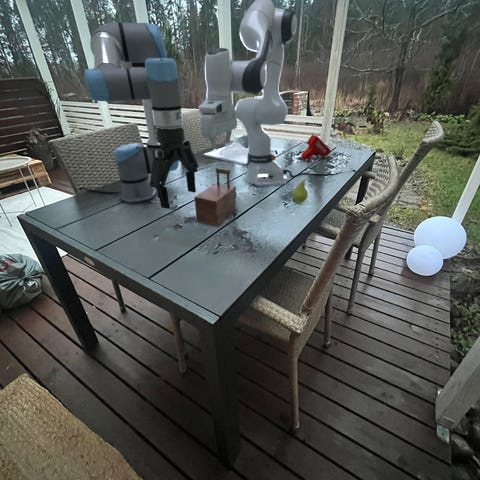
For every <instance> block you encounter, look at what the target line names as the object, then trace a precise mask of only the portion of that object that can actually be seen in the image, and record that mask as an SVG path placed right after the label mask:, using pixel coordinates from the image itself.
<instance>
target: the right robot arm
mask: <svg viewBox="0 0 480 480" xmlns="http://www.w3.org/2000/svg"><path fill="white" fill-rule="evenodd" d="M297 27H298V16H297V13H296V11H295V10H294V9H292V8H289V7H285V8H279V7H275V4H274V2H273V1H272V0H254V1H253V2H252V4H251V5H250V6H249V7H248V9H247V11H246V12H245V14H244V16H243V18H242V19H241V22H240V25H239V37H240V41H241V42H242V44H243V46H244V47H245V48H246V49H247V50H249V51H251V52H256V54H255V58H254V59H250V60H234V59H232V58H231V53H230V49H228V48H226V47H217V48H211V49H209V50H208V51H206V53H205V58H204V59H205V60H204V77H205V84H206V93H205V94H206V99H205V100H204V101H203V102H201V104H200V105H199V106H198V112H199V113H200V116H199V122H200V132H201V133H200V134H201V135H202V137H203V138H206V139H207V138H208V140H209V142H210V144H211V149H213V150H214V149H216V150H217V149H219V144H218V142H217V136H220V135H222V134H225V137H224V139H223V140H224V144H230V143H231V136H232V134H233V130H235V129H237V127H238V121H239V122H240V123H241V124H242V126H243V127H244V129H245V132H246V134H247V135H246V136H247V141H248V143H247V144H248V147H249V152H248V155H247V163H248V164H247V171H246V175H245V177H244V179H245V180H244V181H245V182H246V183H249V184H252V185H255V186H257V187H267V186H279V185H286V184H288V182H289V181H288V180H289V179H288V177H287V176H286V175H287V174H289V177H290V178H295V177H299V176H303V175H304V176H305V175H308V176H309V175H310V176H317V177H318V176H319V177H328V176H336V175H339V174H342V172H339V171H338V172H339V173H336V172H335V173H336V174H332V173H314V174H309V173H310V172H299V173H298V174H295V175H293V173H292V171H291V170H290V169H289V170H288V169H287V168H286V167H283V166H281V165H280V164H279V163H277V162H276V161H275V160H276V158H277V157H276V156H275V154H273V152H271V145H272V139H271V135H270V134H269V133H268V132H267V131H265V130H264V128H263V126H262V125H264V126H265V125H266V126H276V125H282V124H283V123H284V122H285V121H286V119H287V116H288V106H287V104H286V103H285V101H284V100H283V98H282V96H281V94H280V79H281V76H282V75H281V74H282V71H283V70H282V69H283V65H284V57H285V47H286V46H288V44H289V43H290V42H291V41H292V40H293V38H294V37H295V35H296V32H297ZM261 92H262V97H246V98H242V99H238V101H237V103H236V105H234V103H233V93H237V94H238V93H239V94H249V95H258V94H260V93H261ZM351 171H352V172H354V173H356V172H357V171H356V169H354V170H351ZM324 174H325V175H324Z"/></svg>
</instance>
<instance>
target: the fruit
mask: <svg viewBox="0 0 480 480" xmlns="http://www.w3.org/2000/svg"><path fill="white" fill-rule="evenodd" d="M310 177H311V175H308V176H307V177H305V179H302V180H301V181H300V182H298V184H297V185H296V186H295V187H294V188H293V190H292V191H291V198H292V200H293V201H294V202H295V203H297V204H301V203H304V202H305V201H306V200H307V198H308V196H309V195H308V190H307V189H306V184H305V183H306V180H308V179H309V178H310Z"/></svg>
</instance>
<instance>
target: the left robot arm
mask: <svg viewBox="0 0 480 480" xmlns="http://www.w3.org/2000/svg"><path fill="white" fill-rule="evenodd" d="M89 46H90V50H91V54H92V55H93V60H94V61H93V62H94V63H93V65H94V67H93V68H87V69H85V70H84V73H83V74H84V80H85V85H86V87H87V91H88V94H89V96H90V99H91V100H92V101H94V102H104V103H105V102H106V103H109V102H123V101H141V102H142V106H143V111H144V117H145V123H146V128H147V134H148V139H147V140H146V142H145V143H146V146H143V145H142V144H141V143H138V142H136V143H135V142H134V143H126V144H124V145H121V146H118V147H117V148H116V149H115V150H114V159H115V161H114V162H115V163H116V166H117V171H118V174H119V179H120V184H121V186H120V190H119V191H107V190H106V191H105V190H97V189H91V188H87V187H85V186H81V187H80V188H79V189H78V191H81V190H86V191H89V192H94V193H101V194H120V200H121V201H122V202H124V203H126V204H140V203H145V202H148V201H150V200H152V199H154V198H155V196H156V194H157V198H158V199H159V204H160V208H162V209H165V210H166V209H167V210H169V209H171V205H170V199H169V193H168V187H167V186H165V184H166V183H167V179H168V177H169V173H170V172H173V171H174V172H175V171H177V170H178V168H179V164H180V163H181V165H182V166H183V168H185V170H186V171H185V179H186V187H187V192H189V193H196V192H197V188H196V187H197V186H196V173H197V172H198V169H199V164H198V161H197V159H196V157H195V155H194V152H193V149H192V148H191V141H190V140H187V139H186V137H185V128H184V127H183V125H184V121H183V113H182V111H183V110H182V102H181V94H180V84H179V83H180V82H179V72H178V67H177V62H176V60H175V59H173V58H169V57H167V51H166V47H165V42H164V38H163V36H162V32H161V29H160V28H159V26H158V25H157V24H154V23H149V22H120V21H119V22H118V21H112V22H111V21H110V22H107V23H105V24H102V25H101V26H98V28H96V29H95V31H93V32H92V34H91V37H90V42H89ZM122 63H130V64H131V68H130V67H129V68H126V67H125V68H124V67H123V65H122ZM179 162H180V163H179ZM149 174H150V179H149V178H148V175H149ZM155 189H156V191H155Z"/></svg>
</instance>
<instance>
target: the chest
mask: <svg viewBox="0 0 480 480" xmlns="http://www.w3.org/2000/svg"><path fill="white" fill-rule="evenodd" d="M236 192H237V191H236V189H235V190H234V191H233V192H231V193H230V194H229V195H227V196H226V197H225V198H223V199H222V200H221V201H219V202H218V203H217V204H215V203H210V202H206V201H201V200H196V199H195V198H194V207H195V216H196V217H195V218H196V221H197V222H200V223H203V224H204V223H205V224H208V225H213V226H220V224H222V223H223V222H224V221H225V220H226V219H227V218H229V216H231V215H232V214H233V213H234V212H236V210H237V200H236V199H237V197H236V194H237V193H236Z"/></svg>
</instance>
